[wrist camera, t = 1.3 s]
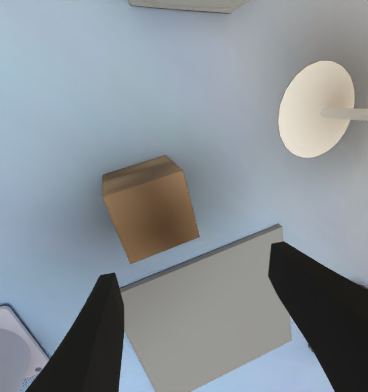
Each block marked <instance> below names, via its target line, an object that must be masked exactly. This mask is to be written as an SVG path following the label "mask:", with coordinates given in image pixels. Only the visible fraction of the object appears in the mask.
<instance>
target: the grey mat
mask: <svg viewBox="0 0 368 392" xmlns="http://www.w3.org/2000/svg"><path fill="white" fill-rule="evenodd" d="M277 242H283V229H282V226H280V225H279V224H278V225H275V226H273V227H270V228H268V229H265V230H263V231H260V232H258V233H256V234H253V235H251V236H248V237H246V238H243V239H241V240H238V241H236V242H233V243H231V244H228V245H226V246H224V247H221V248H219V249H216V250H214V251H211V252H209V253H206V254H204V255H201V256H199V257H196V258H194V259H191V260H189V261H187V262H184V263H182V264H179V265H177V266H174V267H172V268H169V269H167V270H164V271H162V272H159V273H157V274H155V275H152V276H150V277H147V278H145V279H142V280H140V281H137V282H135V283H132V284H130V285H127V286H125V287H123V288H120V292H121V296H122V299H123V303H124V331H125V333H126V335H127V337H128V339H129V341H130V343H131V345H132V347H133V349H134V351H135V353H136V355H137V357H138V359H139V361H140V363H141V365H142V367H143V369H144V371H145V373H146V375H147V376H148V378H149V380H150V382H151V384H152V386H153V388H154V390H155V392H191V391H193V390H195V389H197V388H199V387H201V386H203V385H205V384H207V383H209V382H211V381H213V380H215V379H217V378H219V377H221V376H222V375H224V374H226V373H228V372H230V371H232V370H234V369H236V368H238V367H240V366H242V365H244V364H246V363H248V362H250V361H252V360H254V359H256V358H258V357H260V356H262V355H264V354H266V353H268V352H270V351H272V350H274V349H276V348H277V347H279V346H281V345H283V344H285V343H287V342H289V341H291V340H292V338H291V326H290V314H289V313H288V311H287V310H286V308H285V307H284V305H283V304H282V302H281V300H280V299H279V297H278V296H277V294H276V292H275V290H274V288H273V286H272V284H271V281H270V279H269V277H268V270H269V260H270V251H271V244H272V243H277Z"/></svg>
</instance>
